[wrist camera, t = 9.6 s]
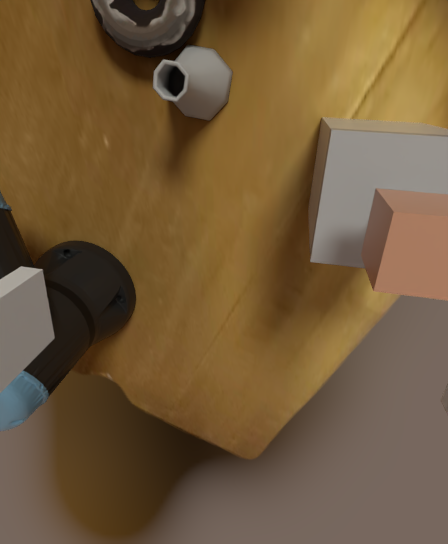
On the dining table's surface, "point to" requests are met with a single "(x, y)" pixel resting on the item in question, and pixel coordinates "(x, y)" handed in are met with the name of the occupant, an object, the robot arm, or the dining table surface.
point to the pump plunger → (408, 243)
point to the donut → (149, 24)
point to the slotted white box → (367, 178)
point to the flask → (194, 82)
